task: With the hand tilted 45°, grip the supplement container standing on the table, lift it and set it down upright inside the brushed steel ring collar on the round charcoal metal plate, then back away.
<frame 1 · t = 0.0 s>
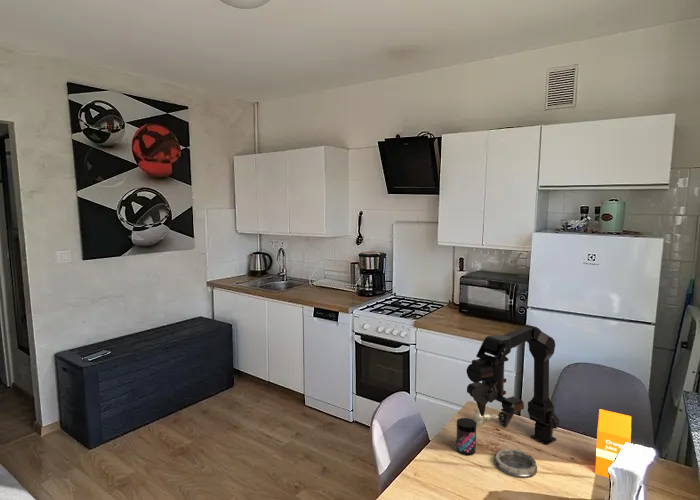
hand: (493, 421, 139), 15 cm above the table, tool pointing down, fingers open, 9 cm apart
valve: (489, 425, 167), on the table
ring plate: (515, 465, 139), on the table
orange juice: (612, 473, 135), on the table
supplement container: (465, 451, 148), on the table
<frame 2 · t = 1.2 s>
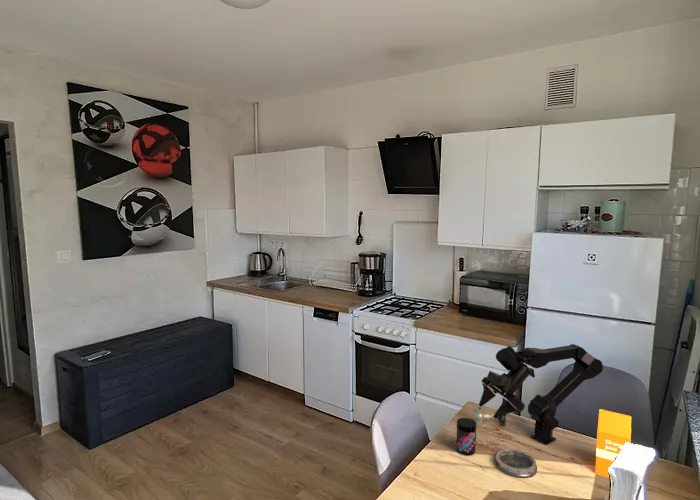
hand: (486, 411, 149), 13 cm above the table, tool tilted 45°, fingers open, 9 cm apart
nothing on the table moved.
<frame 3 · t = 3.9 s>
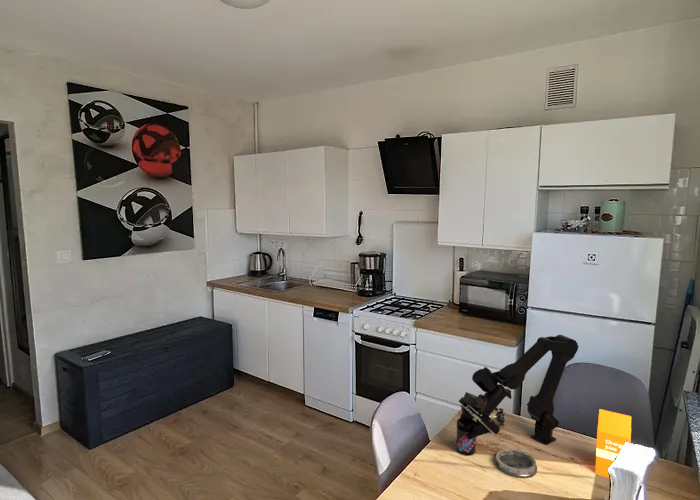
hand: (462, 433, 147), 7 cm above the table, tool tilted 45°, fingers closed on supplement container, 7 cm apart
supplement container: (465, 451, 148), on the table, touching gripper
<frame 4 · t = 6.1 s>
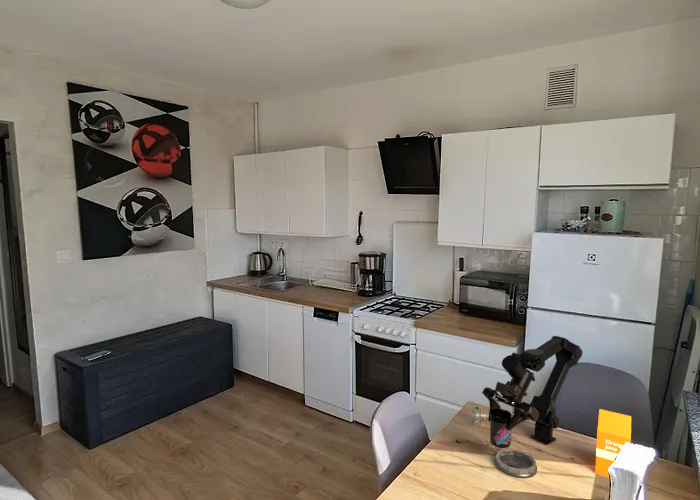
hand: (498, 425, 139), 13 cm above the table, tool tilted 45°, fingers closed on supplement container, 7 cm apart
supplement container: (500, 443, 141), point 6 cm above the table, touching gripper
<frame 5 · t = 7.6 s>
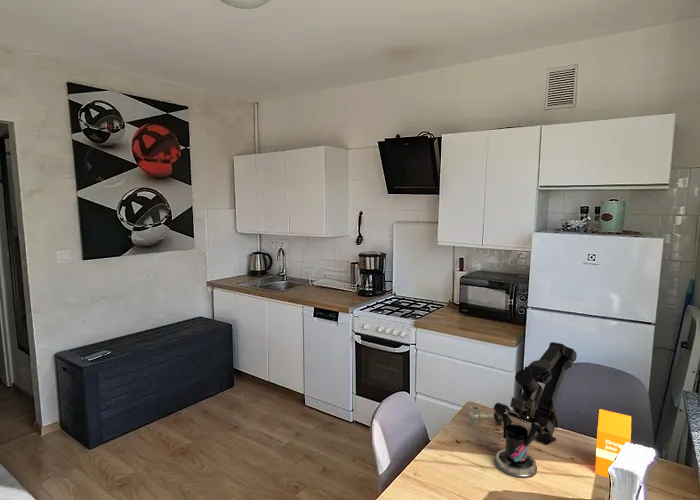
hand: (514, 441, 138), 9 cm above the table, tool tilted 45°, fingers closed on supplement container, 7 cm apart
supplement container: (516, 460, 139), point 2 cm above the table, touching gripper
when the fingers open (8 cm above the table, at t = 8.7 s): supplement container stays where it is, resting on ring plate.
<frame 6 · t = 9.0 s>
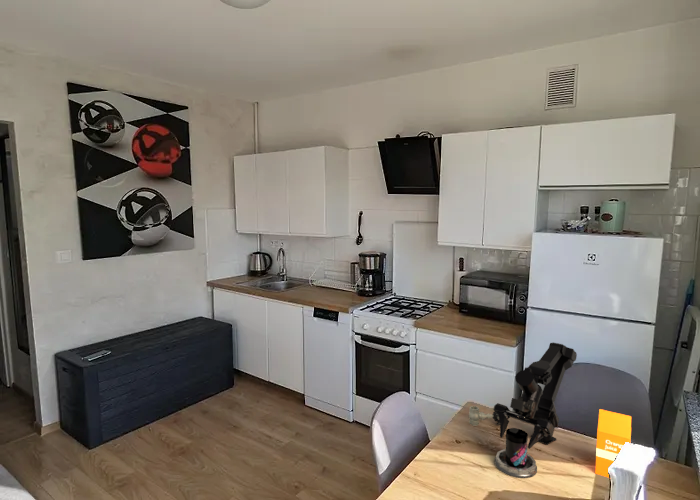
hand: (514, 442, 137), 9 cm above the table, tool tilted 45°, fingers open, 9 cm apart
supplement container: (515, 463, 139), point 1 cm above the table, touching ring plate
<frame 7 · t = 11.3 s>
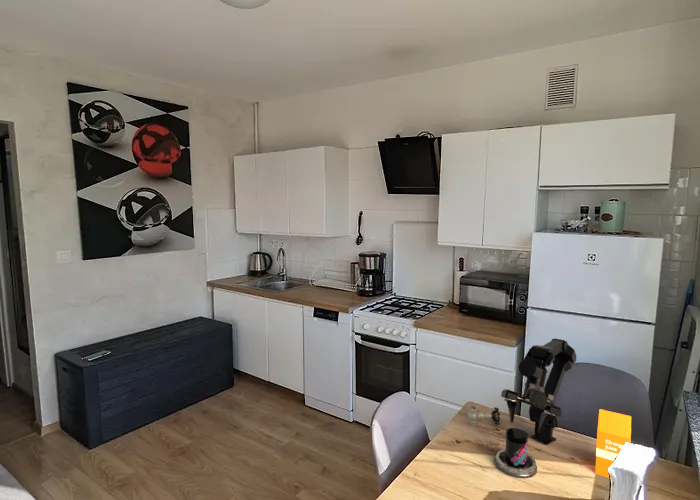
hand: (525, 428, 143), 11 cm above the table, tool tilted 30°, fingers open, 9 cm apart
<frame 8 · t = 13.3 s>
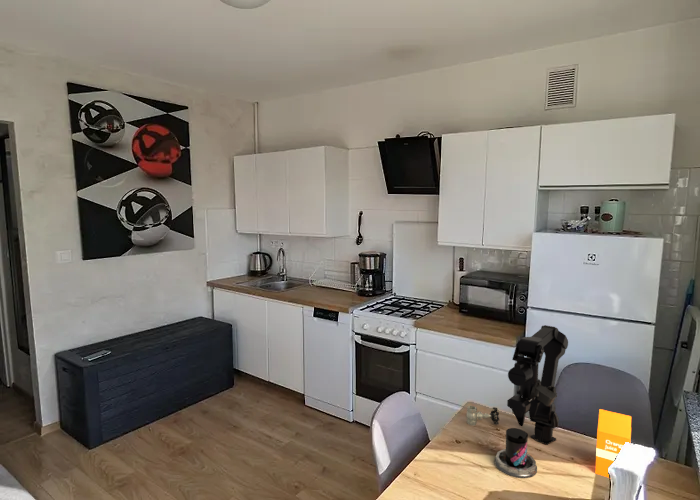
hand: (527, 421, 143), 13 cm above the table, tool pointing down, fingers open, 9 cm apart
at the end: supplement container 0.2 cm off-centre on the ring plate, point 0.6 cm above the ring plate's base; supplement container tilted 0°; the gripper is holding nothing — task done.
